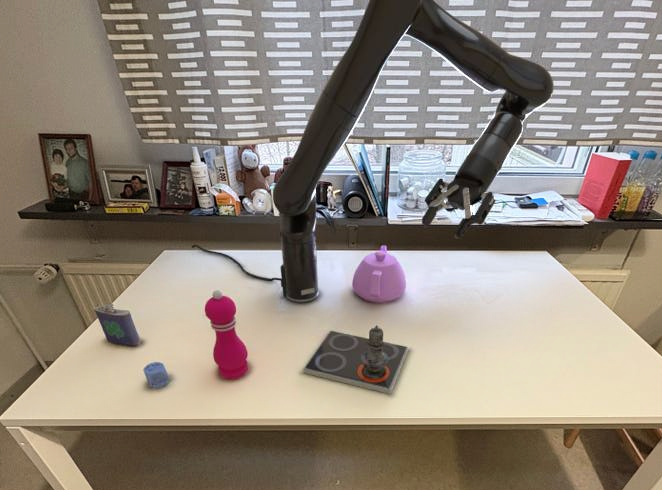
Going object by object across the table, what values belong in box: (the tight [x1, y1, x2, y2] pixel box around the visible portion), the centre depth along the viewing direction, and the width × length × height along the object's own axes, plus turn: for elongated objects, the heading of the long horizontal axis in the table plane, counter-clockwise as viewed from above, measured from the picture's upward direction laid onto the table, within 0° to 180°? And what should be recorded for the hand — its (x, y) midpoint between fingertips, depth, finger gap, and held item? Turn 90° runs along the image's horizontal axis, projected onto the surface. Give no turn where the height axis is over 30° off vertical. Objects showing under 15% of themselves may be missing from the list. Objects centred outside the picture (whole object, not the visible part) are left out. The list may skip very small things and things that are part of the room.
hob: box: [302, 330, 409, 395], centre depth 94 cm, size 20×16×2 cm
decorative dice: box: [142, 361, 170, 389], centre depth 87 cm, size 4×4×4 cm
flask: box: [94, 302, 142, 348], centre depth 96 cm, size 9×3×11 cm, turn 74°
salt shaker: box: [361, 324, 389, 379], centre depth 85 cm, size 6×6×12 cm
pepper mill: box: [204, 290, 249, 380], centre depth 85 cm, size 7×7×20 cm
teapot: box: [351, 245, 407, 303], centre depth 117 cm, size 22×16×12 cm
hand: (439, 231), depth 87 cm, fingers open, 8 cm apart
